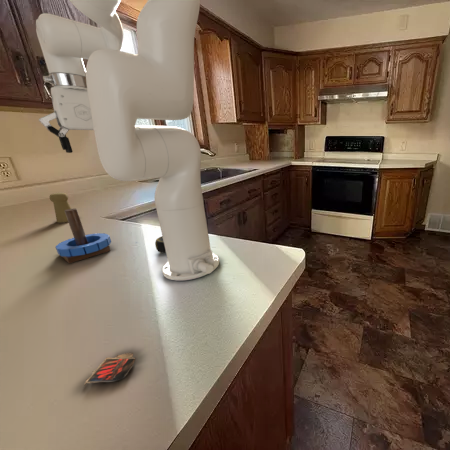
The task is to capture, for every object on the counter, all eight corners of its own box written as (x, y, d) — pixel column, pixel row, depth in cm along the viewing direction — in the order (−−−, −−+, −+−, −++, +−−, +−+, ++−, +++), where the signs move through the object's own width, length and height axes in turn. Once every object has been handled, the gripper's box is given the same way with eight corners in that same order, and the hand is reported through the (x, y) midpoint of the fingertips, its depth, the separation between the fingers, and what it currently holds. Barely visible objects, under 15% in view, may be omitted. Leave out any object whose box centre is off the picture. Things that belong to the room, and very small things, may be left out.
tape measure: (182, 253, 67) (180, 240, 65) (154, 257, 65) (151, 244, 63) (185, 243, 73) (183, 232, 71) (160, 247, 71) (157, 235, 69)
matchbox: (128, 379, 31) (127, 376, 31) (80, 391, 30) (79, 388, 30) (139, 351, 36) (138, 348, 35) (97, 360, 34) (96, 358, 34)
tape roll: (117, 244, 69) (115, 238, 68) (65, 260, 61) (62, 253, 60) (102, 236, 75) (100, 230, 75) (53, 249, 67) (51, 243, 66)
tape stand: (110, 250, 69) (97, 208, 65) (69, 263, 62) (51, 216, 58) (99, 243, 74) (86, 203, 70) (59, 254, 67) (42, 211, 63)
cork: (53, 221, 96) (43, 194, 92) (71, 217, 101) (62, 191, 98) (62, 223, 94) (51, 195, 90) (80, 218, 99) (71, 191, 95)
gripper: (27, 76, 56) (54, 153, 62) (115, 87, 69) (130, 150, 75) (21, 80, 60) (47, 153, 66) (104, 90, 73) (120, 150, 79)
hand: (91, 151), depth 70 cm, fingers open, 9 cm apart
